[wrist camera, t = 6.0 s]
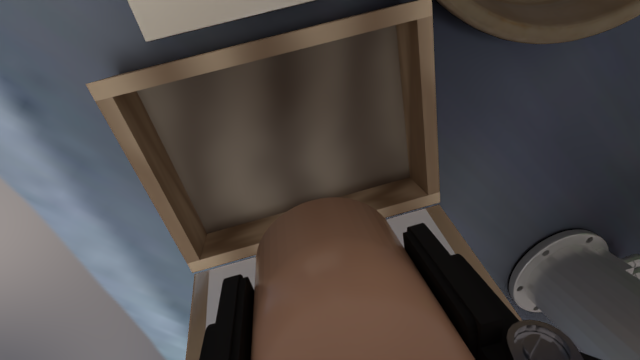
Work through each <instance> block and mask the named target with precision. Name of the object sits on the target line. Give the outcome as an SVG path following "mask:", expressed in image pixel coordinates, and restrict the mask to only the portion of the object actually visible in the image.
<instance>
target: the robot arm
mask: <svg viewBox="0 0 640 360" xmlns="http://www.w3.org/2000/svg"><path fill="white" fill-rule="evenodd" d="M403 241H404V248H405V250H406V252H407V253H408V255H409V256H410V258H411V259H412V261H413V263H414V264H415V266H416V267H417V269H418V270H419V272H420V274H421V275H422V277H423V278H424V280H425V281H426V283H427V285H428V286H429V288H430V289H431V291H432V292H433V294H434V295H435V297H436V299H437V300H438V302H439V303H440V305H441V306H442V308H443V310H444V311H445V313H446V314H447V316H448V317H449V319H450V321H451V322H452V324H453V325H454V327H455V328H456V330H457V332H458V333H459V335H460V336H461V338H462V339H463V341H464V342H465V344H466V346H467V347H468V349H469V350H470V352H471V353H472V355H473V357H474V358H475V360H640V255H639V254H633V255H630V256H626V257H624V258H622V259H621V258H618V257H616V256H615V255H613V254H612V253H610V252H609V249H608V245H607V243H606V241H605V240H603V239H602V238H601V237H600V236H598V235H596V234H595V233H593V232H591V231H587V230H580V229H576V230H568V231H564V232H561V233H557V234H555V235H553V236H551V237H548V238H547V239H545V240H543V241H542V242H540V243H538V244H537V245H536V246H535V247H533V248H532V249H531V250H530V251H529V252H527V253H526V254H525V255H524V256H523V258H522V259H521V260H520V261H519V263H518V264H517V265H516V267H515V269H514V270H513V272H512V275H511V277H510V281H509V293H510V296H511V298H512V299H513V300H514V301H515V303H516V304H517V305H518V306H519V307H521V308H522V309H524V310H527V311H530V312H543V313H544V314H545V315H546V316H547V317H548V318H549V319H550V320H551V321H552V322H553V323H554V324H555V325H556V326H557V327H558V328H559V329H560V330H559V329H557V328H555V327H553V326H552V325H550V324H547V323H544V322H541V321H535V320H523V321H519V320H518V319H517V317H516V316H515V315H514V314H513V313H512V312H511V311H510V310H509V308H508V307H507V306H506V305H505V304H504V303H503V302H502V300H501V299H500V298H499V297H498V296H497V295H496V294H495V292H494V291H493V290H492V289H491V288H490V287H489V286H488V284H487V283H486V282H485V281H484V280H483V279H482V278H481V276H480V275H479V274H478V273H477V272H476V271H475V270H474V268H473V267H472V266H471V265H470V264H469V263H468V262H467V260H466V259H465V258H464V257H463V256H462V255H460V254H454V255H450V254H449V252H448V251H447V250H446V249H445V247H444V246H443V245H442V244H441V243H440V241H439V240H438V239H437V238H436V237H435V235H434V234H433V233H432V232H431V231H430V229H429V228H428V227H427V226H426V225H425V224H424V223H420V224H416V225H413V226H409V227H407V232H404V233H403ZM253 304H254V289H253V286H252V284H251V282H250V280H249V278H248V277H244V278H243V276H242V275H241V274H239V275H235V276H232V277H228V278H225V279H224V280H223V283H222V289H221V294H220V300H219V305H218V311H217V316H216V322H215V323H213V324H210V325H208V326H207V328H206V331H205V334H204V339H203V344H202V348H201V353H200V358H199V360H251V342H252V323H253ZM577 348H578V349H579V350H580V351H581V352H579V350H578V349H577Z"/></svg>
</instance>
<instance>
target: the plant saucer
mask: <svg viewBox="0 0 640 360" xmlns="http://www.w3.org/2000/svg"><path fill="white" fill-rule="evenodd" d="M436 1H437V2H438V3H439V4H440V5H442V6H443V7H444V8H445V9H446V10H448V11H449V12H450V13H451V14H453V15H454V16H456V17H457V18H459V19H460V20H462V21H463V22H465V23H466V24H468V25H470V26H472V27H474V28H475V29H477V30H479V31H482V32H484V33H487V34H489V35H492V36H495V37H497V38H500V39H504V40H509V41H514V42H520V43H529V44H552V43H562V42H569V41H574V40H578V39H582V38H586V37H590V36H593V35H596V34H599V33H602V32H605V31H607V30H610V29H612V28H615V27H617V26H619V25H621V24H624V23H625V22H627V21H629V20H631V19H633V18H635V17H637V16H639V15H640V0H436Z"/></svg>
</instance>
